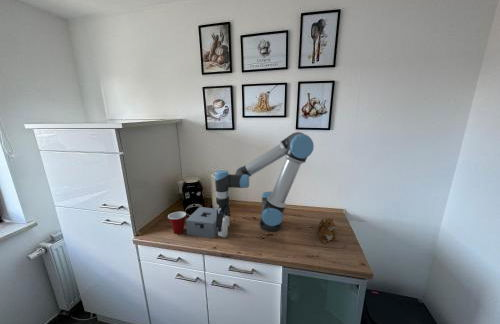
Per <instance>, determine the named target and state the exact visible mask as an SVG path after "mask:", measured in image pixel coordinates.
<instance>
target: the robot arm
mask: <svg viewBox="0 0 500 324" xmlns="http://www.w3.org/2000/svg"><path fill="white" fill-rule="evenodd" d="M314 148H315V145H314V142H313V139H312V138H311V137H310V136H309V135H308V134H306V133H304V132H300V131H296V132H293V133H291V134H290V135H288V136H287V137H285V138H284V139H283V140H281V141H280V143H279V144H278V145H276V146H274V147H273V148H271V149H270V150H268V151H266V152H265V153H263V154H262V155H259V156H258V157H256V158H254V159H253V160H251V161H250V162H248V163H247V164H245V165H243V166H240V167H238V168H237V169H236V171H235V174H229V172H228V170H225V169H219V170H217V171H216V172H215V173H214V184H215V191H214V192H215V201H216V202H215V203H216V205H218V209H219V210H217V218H216V227H218V234H217V236H219V237H221V236H223V226H222V222H223V215H224V218H227V225H228V227H230V217H231V208H230V189H231V188H232V189H233V188H234V189H237V188H238V189H246V188H249V187H250V177H252V176H254V174H257V173H259V172H260V171H261V170H263V169H265V168H266V167H268V166H270V165H271V164H273V163H274V162H276V161H279V160H280V159H281V158H283V157H285V160H284V163H283V165H282V167H281V169H280V172H279V174H278V177H277V179H276V182H275V184H274V186H273V189H272V191H263V193H262V194H261V214H260V218H259V222H258V226H259V228H260V229H261V230H263V231H265V232H277V231H279V230H281V229H282V227H283V223H282V222H283V219H284V215H283V213H284V212H285V209H286V207H287V204H286V201H287V200H286V199H287V197H288V195H289V193H290V191H291V189H292V187H293V183H294V181H295V180H296V177H297V176H298V175H297V174H298V172H299V170H300V169H301V168H300V167H301V165H303V164H304V163H306V161H307V159H308V157H310V156H311V155H312V153H313V152H314Z"/></svg>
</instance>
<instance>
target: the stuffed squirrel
mask: <svg viewBox="0 0 500 324" xmlns="http://www.w3.org/2000/svg"><path fill="white" fill-rule="evenodd" d="M335 227H337V225H336V224H335V222H334V217H330V218H325V217H322V219H321V220H320V221H319V224H318V225H317V228H316V232H317V234H318V239H319V240H320V242H321V244H324V245H326V244H327V242H329V241H336V242H338V238H337V236H338V233H337V231H336V230H335V229H334V228H335Z"/></svg>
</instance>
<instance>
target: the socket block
mask: <svg viewBox="0 0 500 324" xmlns="http://www.w3.org/2000/svg"><path fill="white" fill-rule="evenodd" d="M217 210H219V208H212V207H203V206H199V207H198V208H197V209H196V210H195V211H194V212H193V213H191V214H190V216H189V217H187V218H185V225H186V235H187V236H193V237H194V236H195V237H201V238H207V239H215V238H216V236H218V227H216V218H217ZM208 214H210V216H209V217H205V215H208ZM223 218H225V214H224V215H223ZM199 224H203V225H202V226H201V229H196V225H199Z"/></svg>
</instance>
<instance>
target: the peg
mask: <svg viewBox="0 0 500 324" xmlns="http://www.w3.org/2000/svg"><path fill="white" fill-rule="evenodd" d="M222 226H223V236H220V237H221V238H227V237H228V236H229V230H228V229H229V228H228V227H229V226H228V225H227V218H225V217H224V218H223V222H222Z"/></svg>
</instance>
